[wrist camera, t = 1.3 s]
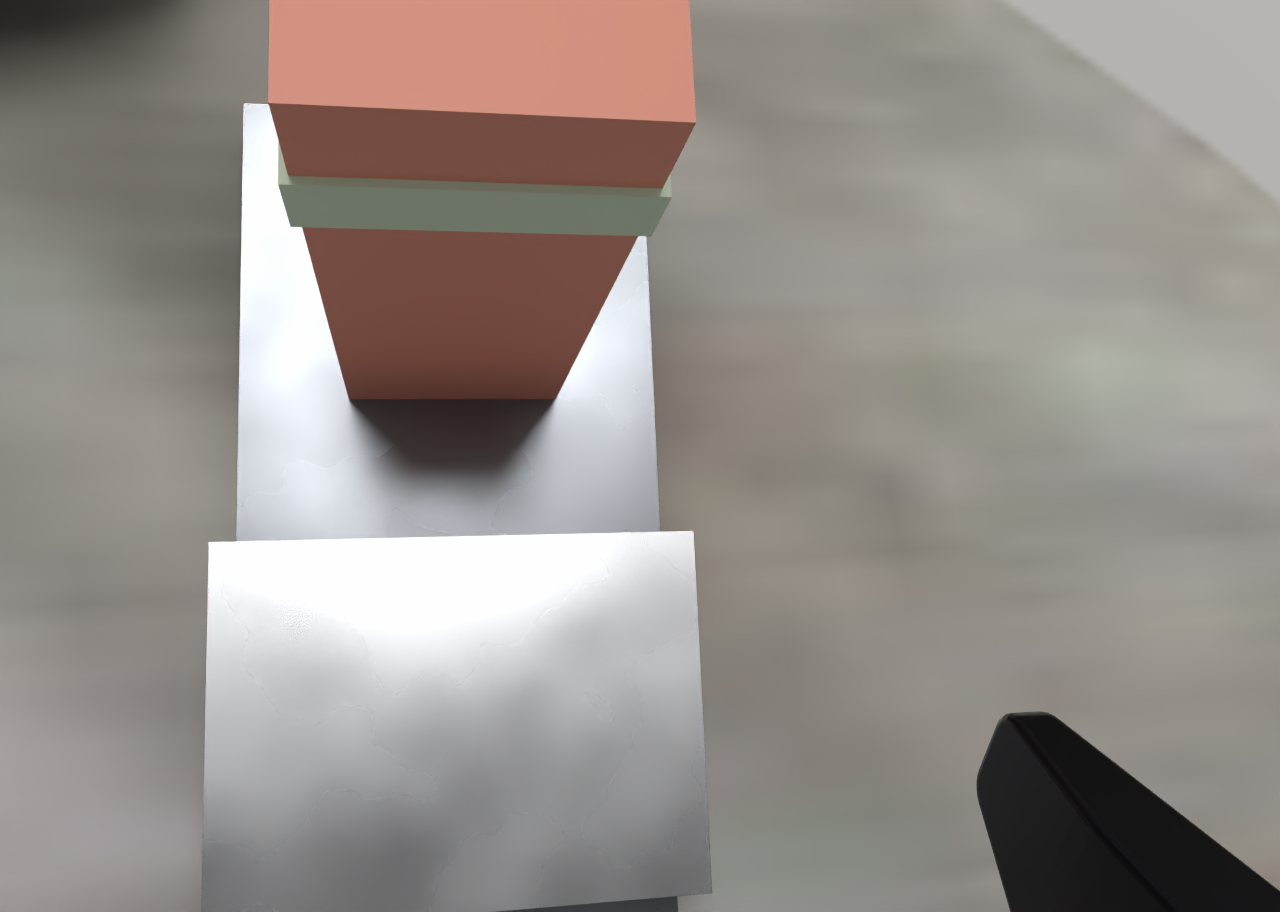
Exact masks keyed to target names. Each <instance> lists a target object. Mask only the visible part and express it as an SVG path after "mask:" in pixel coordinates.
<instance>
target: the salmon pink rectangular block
mask: <svg viewBox="0 0 1280 912" xmlns="http://www.w3.org/2000/svg"><path fill="white" fill-rule="evenodd" d="M268 104H269V107H270V111H271V115H272V118H273V122H274V126H275V129H276V133H277V137H278V186H279V190H280V193H281V196H282V200H283V203H284V206H285V210H286V213H287V217H288V220H289V223H290V227H302V229H303V233H304V236H305V240H306V244H307V247H308V251H309V255H310V259H311V262H312V266H313V270H314V273H315V277H316V281H317V284H318V288H319V292H320V295H321V299H322V303H323V306H324V310H325V314H326V318H327V321H328V325H329V329H330V332H331V336H332V340H333V343H334V347H335V351H336V354H337V358H338V362H339V366H340V369H341V373H342V377H343V380H344V384H345V388H346V391H347V395H348V399H556V398H557V396H558V394H559V392H560V390H561V388H562V386H563V384H564V382H565V380H566V378H567V376H568V374H569V372H570V370H571V368H572V366H573V364H574V362H575V360H576V358H577V356H578V354H579V353H580V351H581V349H582V347H583V345H584V343H585V341H586V339H587V337H588V335H589V333H590V331H591V329H592V327H593V325H594V323H595V321H596V319H597V317H598V315H599V313H600V311H601V309H602V307H603V305H604V303H605V301H606V299H607V297H608V295H609V293H610V291H611V289H612V287H613V285H614V283H615V281H616V280H617V278H618V276H619V274H620V272H621V270H622V268H623V266H624V264H625V262H626V260H627V258H628V256H629V254H630V252H631V250H632V248H633V246H634V244H635V242H636V240H637V238H638V236H651V235H652V233H653V232H654V230H655V228H656V226H657V224H658V222H659V220H660V218H661V217H662V215H663V213H664V211H665V209H666V207H667V205H668V204H669V202H670V200H671V198H672V191H671V171H672V169H673V167H674V165H675V163H676V161H677V159H678V157H679V155H680V153H681V151H682V149H683V147H684V145H685V143H686V141H687V139H688V137H689V135H690V133H691V132H692V130H693V128H694V126H695V124H696V113H695V95H694V77H693V59H692V41H691V23H690V5H689V0H270V10H269V88H268Z"/></svg>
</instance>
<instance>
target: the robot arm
mask: <svg viewBox="0 0 1280 912" xmlns="http://www.w3.org/2000/svg"><path fill="white" fill-rule="evenodd" d="M977 796H978V801H979V805H980V808H981V812H982V815H983V819H984V822H985V826H986V829H987V832H988V836H989V839H990V843H991V846H992V850H993V853H994V857H995V860H996V864H997V867H998V870H999V874H1000V877H1001V881H1002V884H1003V888H1004V891H1005V895H1006V898H1007V902H1008V905H1009V909H1010V912H1280V891H1279V890H1278V889H1277V888H1275V887H1274V886H1273V885H1271V884H1270V883H1269V882H1268V881H1266V880H1265V879H1264V878H1262V877H1261V876H1260V875H1259V874H1257V873H1256V872H1255V871H1253V870H1252V869H1251V868H1250V867H1248V866H1247V865H1246V864H1244V863H1243V862H1242V861H1241V860H1239V859H1238V858H1237V857H1235V856H1234V855H1233V854H1232V853H1230V852H1229V851H1228V850H1226V849H1225V848H1224V847H1223V846H1221V845H1220V844H1219V843H1217V842H1216V841H1215V840H1214V839H1212V838H1211V837H1210V836H1208V835H1207V834H1206V833H1205V832H1203V831H1202V830H1201V829H1199V828H1198V827H1197V826H1196V825H1194V824H1193V823H1192V822H1190V821H1189V820H1188V819H1187V818H1185V817H1184V816H1183V815H1181V814H1180V813H1179V812H1178V811H1176V810H1175V809H1174V808H1172V807H1171V806H1170V805H1169V804H1167V803H1166V802H1165V801H1163V800H1162V799H1161V798H1160V797H1158V796H1157V795H1156V794H1154V793H1153V792H1152V791H1151V790H1149V789H1148V788H1147V787H1145V786H1144V785H1143V784H1142V783H1140V782H1139V781H1138V780H1136V779H1135V778H1134V777H1133V776H1131V775H1130V774H1129V773H1127V772H1126V771H1125V770H1124V769H1122V768H1121V767H1120V766H1118V765H1117V764H1116V763H1115V762H1113V761H1112V760H1111V759H1109V758H1108V757H1107V756H1106V755H1104V754H1103V753H1102V752H1100V751H1099V750H1098V749H1097V748H1095V747H1094V746H1093V745H1091V744H1090V743H1089V742H1088V741H1086V740H1085V739H1084V738H1082V737H1081V736H1080V735H1079V734H1077V733H1076V732H1075V731H1073V730H1072V729H1071V728H1070V727H1068V726H1067V725H1066V724H1064V723H1063V722H1062V721H1061V720H1059V719H1058V718H1056V717H1055V716H1053V715H1051V714H1049V713H1046V712H1022V713H1010V714H1006V715H1005V716H1003V717H1002V718H1001V719H1000V720H999V722H998V724H997V726H996V728H995V731H994V733H993V736H992V738H991V741H990V743H989V746H988V749H987V751H986V754H985V756H984V759H983V761H982V764H981V766H980V769H979V772H978V776H977Z"/></svg>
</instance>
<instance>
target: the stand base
mask: <svg viewBox="0 0 1280 912" xmlns="http://www.w3.org/2000/svg"><path fill="white" fill-rule="evenodd" d="M707 893H712V881H711V862H710V842H709V823H708V804H707V785H706V765H705V746H704V727H703V707H702V688H701V669H700V650H699V630H698V611H697V592H696V572H695V553H694V534H693V531H672V532H660V520H659V498H658V477H657V455H656V434H655V413H654V391H653V370H652V349H651V327H650V306H649V285H648V263H647V242H646V236H638V238H637V240H636V242H635V244H634V246H633V248H632V250H631V252H630V254H629V256H628V258H627V260H626V262H625V264H624V266H623V268H622V270H621V272H620V274H619V276H618V278H617V280H616V281H615V283H614V285H613V287H612V289H611V291H610V293H609V295H608V297H607V299H606V301H605V303H604V305H603V307H602V309H601V311H600V313H599V315H598V317H597V319H596V321H595V323H594V325H593V327H592V329H591V331H590V333H589V335H588V337H587V339H586V341H585V343H584V345H583V347H582V349H581V351H580V353H579V354H578V356H577V358H576V360H575V362H574V364H573V366H572V368H571V370H570V372H569V374H568V376H567V378H566V380H565V382H564V384H563V386H562V388H561V390H560V392H559V394H558V396H557V398H556V399H348V395H347V391H346V388H345V384H344V380H343V377H342V373H341V369H340V366H339V362H338V358H337V354H336V351H335V347H334V343H333V340H332V336H331V332H330V329H329V325H328V321H327V318H326V314H325V310H324V306H323V303H322V299H321V295H320V292H319V288H318V284H317V281H316V277H315V273H314V270H313V266H312V262H311V259H310V255H309V251H308V247H307V244H306V240H305V236H304V233H303V229H302V227H290V223H289V220H288V217H287V213H286V210H285V206H284V203H283V200H282V196H281V193H280V190H279V186H278V137H277V133H276V129H275V126H274V122H273V118H272V115H271V111H270V107H269V104H247V103H244V120H243V180H242V239H241V299H240V358H239V417H238V477H237V536H236V542H209V566H208V614H207V662H206V709H205V757H204V805H203V853H202V900H201V912H678V904H677V896H684V895H695V894H707Z"/></svg>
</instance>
